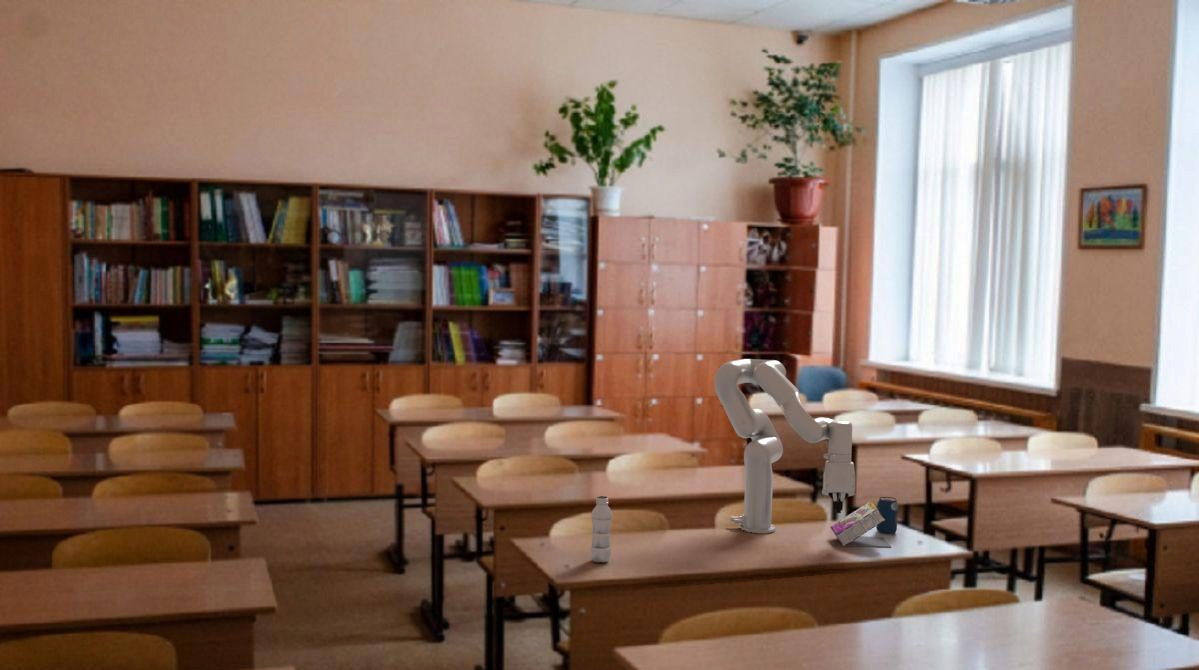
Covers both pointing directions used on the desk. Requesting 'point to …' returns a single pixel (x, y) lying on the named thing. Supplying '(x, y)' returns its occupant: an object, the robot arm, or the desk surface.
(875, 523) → the candy bar box
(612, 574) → the desk surface
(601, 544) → the plastic bottle
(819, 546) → the desk surface
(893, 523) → the soda can
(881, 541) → the mat
